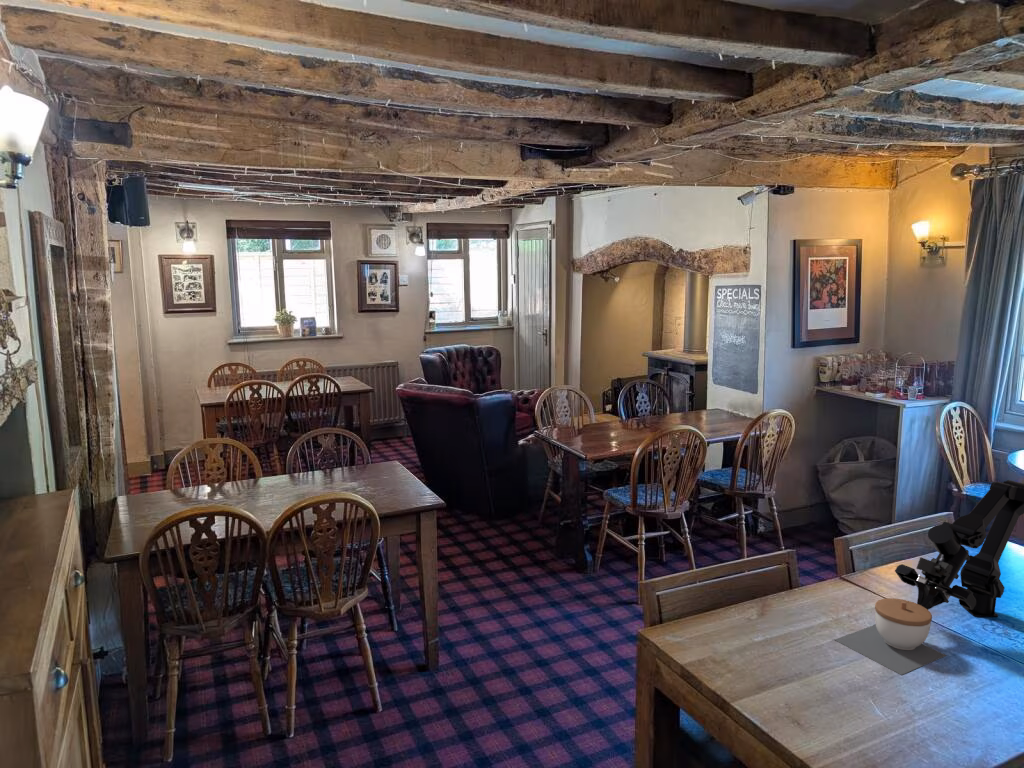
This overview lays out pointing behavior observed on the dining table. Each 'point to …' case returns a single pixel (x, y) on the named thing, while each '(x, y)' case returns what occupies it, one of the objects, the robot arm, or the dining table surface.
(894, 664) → the placemat
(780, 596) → the dining table surface
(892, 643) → the lidded bowl
